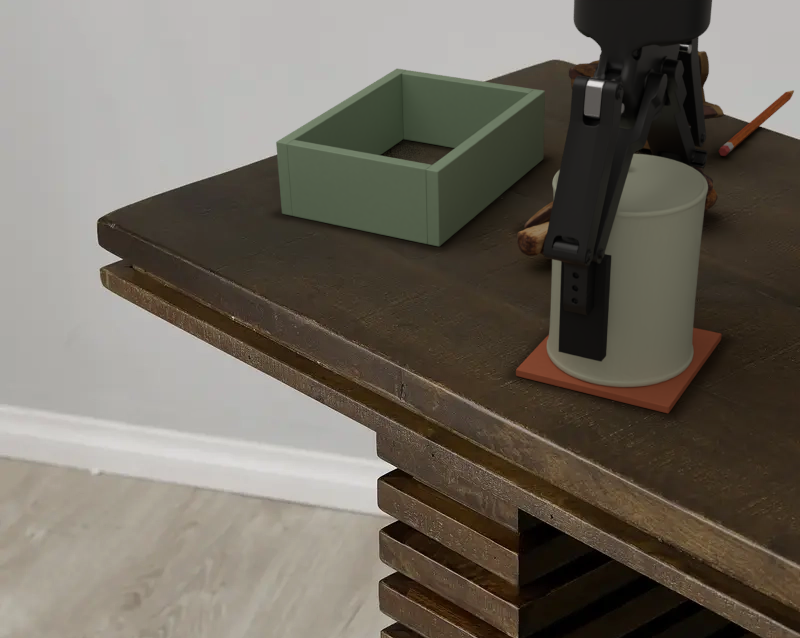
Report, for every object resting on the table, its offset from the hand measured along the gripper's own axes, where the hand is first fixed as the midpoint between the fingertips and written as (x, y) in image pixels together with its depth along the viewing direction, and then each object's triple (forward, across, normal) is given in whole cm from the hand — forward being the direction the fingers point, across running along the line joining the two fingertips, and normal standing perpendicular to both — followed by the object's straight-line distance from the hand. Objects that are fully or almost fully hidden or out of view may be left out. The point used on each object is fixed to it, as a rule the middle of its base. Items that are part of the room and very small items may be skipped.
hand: (624, 305), depth 86 cm
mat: (+4, 0, 0) cm, 4 cm away
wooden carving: (+4, -35, -12) cm, 37 cm away
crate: (+4, -19, -25) cm, 32 cm away
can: (+3, 0, 0) cm, 3 cm away
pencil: (+4, -44, -4) cm, 44 cm away
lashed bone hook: (+4, -17, -8) cm, 19 cm away
